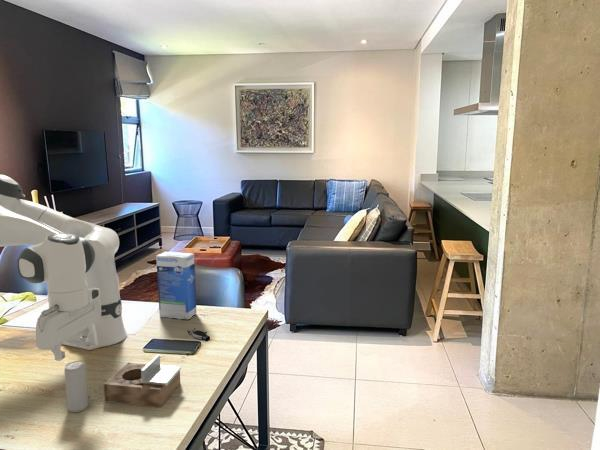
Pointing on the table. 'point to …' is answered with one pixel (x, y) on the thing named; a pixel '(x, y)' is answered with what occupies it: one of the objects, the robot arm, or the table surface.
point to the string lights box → (176, 285)
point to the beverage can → (76, 386)
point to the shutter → (158, 372)
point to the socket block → (137, 387)
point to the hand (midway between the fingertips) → (72, 350)
